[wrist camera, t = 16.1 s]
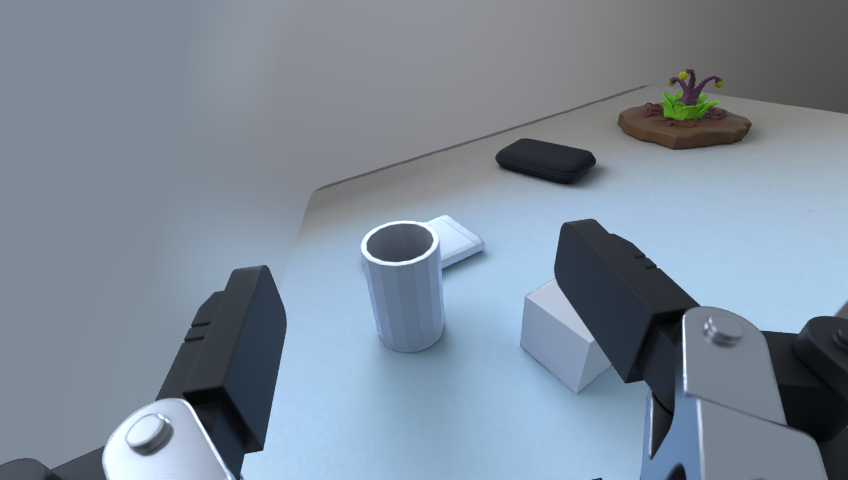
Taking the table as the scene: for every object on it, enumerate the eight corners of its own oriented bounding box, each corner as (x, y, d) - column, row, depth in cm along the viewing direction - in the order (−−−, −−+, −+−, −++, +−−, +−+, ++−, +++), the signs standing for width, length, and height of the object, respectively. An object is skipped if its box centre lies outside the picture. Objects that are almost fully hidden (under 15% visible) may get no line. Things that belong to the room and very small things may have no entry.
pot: (368, 347, 34) (348, 261, 29) (389, 299, 39) (375, 218, 34) (436, 357, 33) (429, 269, 27) (449, 306, 38) (445, 222, 32)
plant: (598, 123, 79) (609, 66, 73) (673, 109, 83) (690, 53, 77) (678, 156, 63) (701, 86, 57) (766, 136, 67) (797, 69, 61)
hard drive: (392, 282, 39) (484, 239, 44) (360, 246, 45) (444, 212, 50) (394, 293, 40) (484, 250, 45) (362, 257, 46) (445, 222, 51)
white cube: (576, 394, 29) (589, 343, 26) (519, 345, 33) (524, 296, 30) (623, 355, 32) (640, 304, 28) (564, 314, 36) (574, 266, 33)
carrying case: (601, 165, 62) (522, 148, 71) (604, 147, 61) (524, 132, 69) (572, 189, 56) (490, 167, 65) (575, 170, 54) (490, 150, 63)
